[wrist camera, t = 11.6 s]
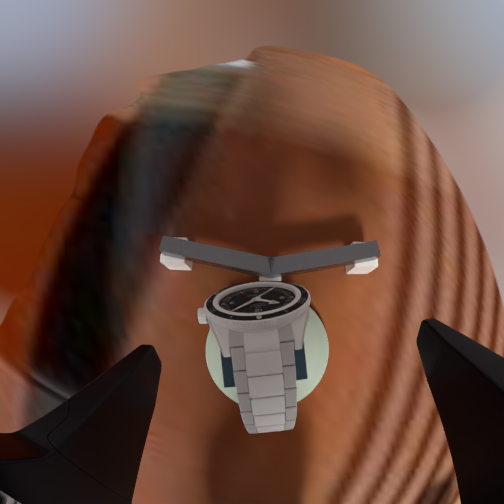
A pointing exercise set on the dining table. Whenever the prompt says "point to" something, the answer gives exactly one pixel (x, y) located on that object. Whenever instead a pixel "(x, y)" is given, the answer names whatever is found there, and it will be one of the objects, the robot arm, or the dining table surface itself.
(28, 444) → the robot arm
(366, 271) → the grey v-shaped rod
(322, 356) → the mat
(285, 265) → the grey bent bar
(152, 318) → the dining table surface
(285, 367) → the watch
